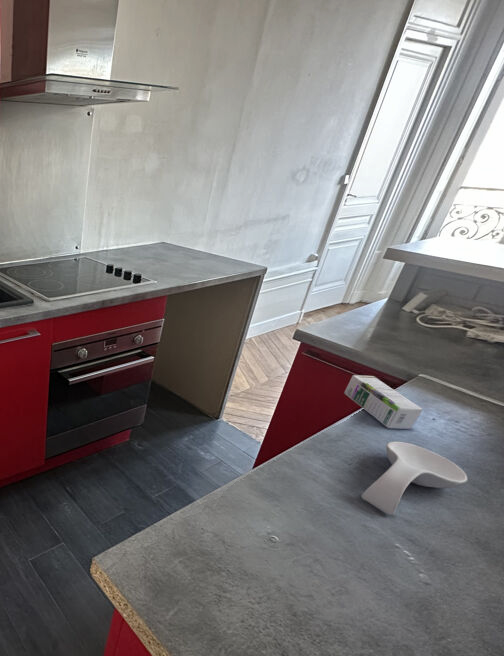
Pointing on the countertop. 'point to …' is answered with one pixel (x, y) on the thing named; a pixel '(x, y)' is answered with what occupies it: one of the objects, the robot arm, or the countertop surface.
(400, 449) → the spoon rest
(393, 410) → the syrup box
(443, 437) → the countertop surface
